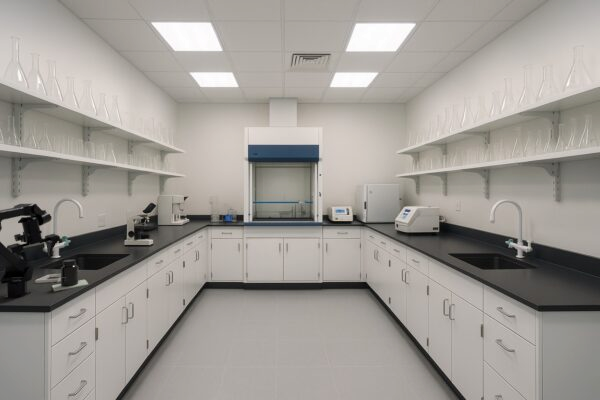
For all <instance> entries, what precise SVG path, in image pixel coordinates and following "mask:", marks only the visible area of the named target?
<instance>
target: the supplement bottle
mask: <svg viewBox="0 0 600 400" xmlns="http://www.w3.org/2000/svg"><path fill="white" fill-rule="evenodd" d="M62 265H63V266H62V267H60V274H61V281H60V284H61V286H63V287H68V286H73V285H76V284H78V281H79V265H77V262H76V259H66V260H63V261H62Z"/></svg>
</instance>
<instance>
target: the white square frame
mask: <svg viewBox="0 0 600 400" xmlns="http://www.w3.org/2000/svg"><path fill="white" fill-rule="evenodd" d="M59 282H61V273H54V274H53V273H51V274H47V275H44V276H42V277H39V278H37V279H35V284H44V283H46V284H47V283H59Z"/></svg>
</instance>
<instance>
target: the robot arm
mask: <svg viewBox="0 0 600 400" xmlns="http://www.w3.org/2000/svg"><path fill="white" fill-rule="evenodd" d="M18 217H21V218H20V219H19V220H18V221H17V222H18V224H21V225H22V230H23V231H22V234H21V233H18V234H14V235H13V237H14V240H15V242H17V243H12V244H8V245H7V246H5V245H4V244H3V243H2V241H0V264H1V265H2V266H3V267H4V270H3V271H4V274H3V275H2V277H1V278H0V283H1V284H2V285H3V284H6V287H7V288H6V289H7V295H5V296H3V299H10V298H11V299H13V298H15V299H16V298H22V297H24V296H26V295H28V294H30V293H31V291H30V290H29V291H28V282H30V281H31V280H32V279H33V274H34V266H33V265H32V264H33V263H32V262H30V261H29V259H28V258H27V254H26V251H25V250H24V249H25V248H30V247H32V246H35V245H40V244H44V243H45V245H46V251H47V256H48V257H51V255H52V252H53V250H54V248H55V246H56V245H57V244H58V242H60V241H61V235H58V234H55V233H52V234H51V233H50V234H46V235H45V236H44V238H43V237H42V233H43V231H42V230H41V226H43V225H46V224H47V223H50V222H51V220H52V215H51V214H50V213H49V212H47V210H46V209H41V208H40V207H39V206H38V204H37V203H19V204H16V205H13V207H12V208H5V209H0V232H1V231H2V229H3V227H2V222H3V221H5V220H9V219H12V218H14V219H15V218H18ZM19 241H20V242H21V243H22V244H21V243H18V242H19ZM14 254H15V255H14ZM16 255H17V256H19V257H20V258H18V257H17V256H16Z"/></svg>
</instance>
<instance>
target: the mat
mask: <svg viewBox="0 0 600 400" xmlns="http://www.w3.org/2000/svg"><path fill="white" fill-rule="evenodd" d="M84 286H89V283H88V281H87V280H86V279H80V280H79V279H78V284H76V285H73V286H68V287H63V286H61V283H59V284H53V285H51V287H52V290H53V292H57V291H62V290H63V291H64V290H69V289H73V288H78V287H79V288H80V287H84Z"/></svg>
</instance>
